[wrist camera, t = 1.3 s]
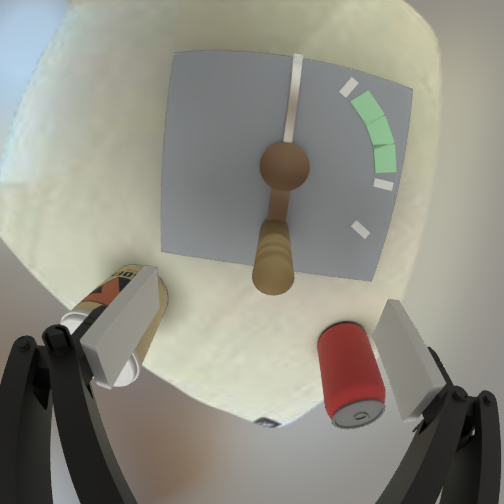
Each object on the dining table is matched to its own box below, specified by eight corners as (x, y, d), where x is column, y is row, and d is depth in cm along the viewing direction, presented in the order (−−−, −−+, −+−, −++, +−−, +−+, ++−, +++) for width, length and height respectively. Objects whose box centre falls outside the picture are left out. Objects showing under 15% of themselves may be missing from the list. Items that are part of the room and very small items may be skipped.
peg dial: (273, 62, 18) (271, 24, 11) (320, 70, 18) (344, 37, 10) (250, 240, 25) (239, 290, 17) (293, 247, 25) (300, 299, 17)
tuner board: (182, 54, 20) (174, 48, 18) (404, 88, 20) (413, 85, 18) (167, 244, 29) (160, 252, 27) (366, 272, 28) (372, 282, 26)
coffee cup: (177, 268, 30) (132, 338, 19) (173, 329, 34) (140, 399, 23) (108, 249, 30) (47, 303, 19) (112, 309, 34) (68, 367, 23)
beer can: (334, 364, 34) (346, 437, 23) (306, 339, 33) (313, 419, 22) (374, 339, 32) (399, 411, 21) (349, 311, 30) (374, 389, 19)
